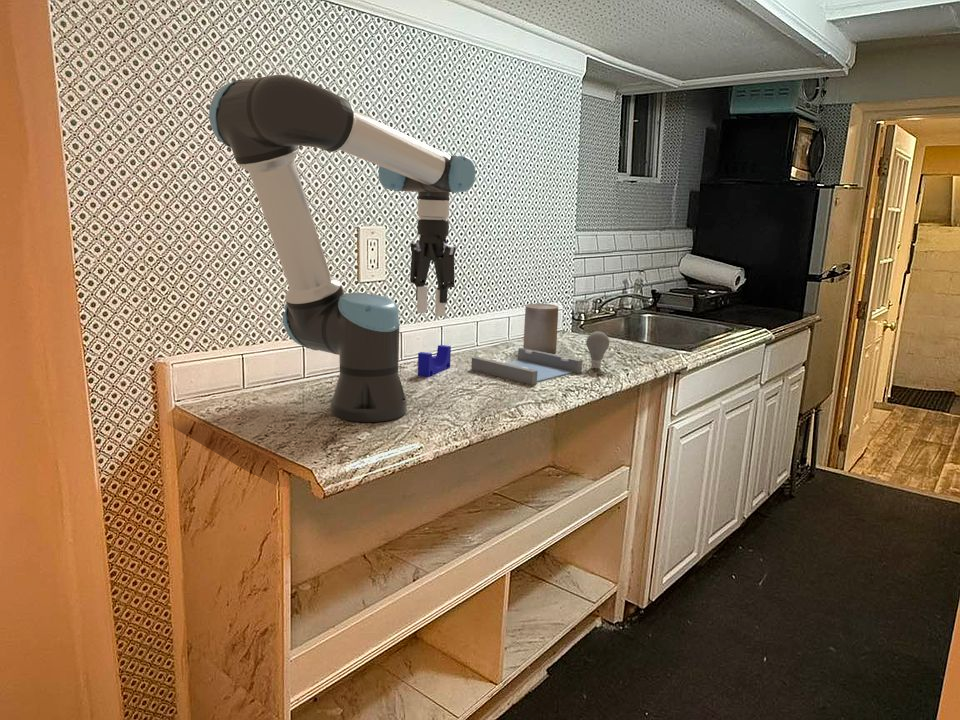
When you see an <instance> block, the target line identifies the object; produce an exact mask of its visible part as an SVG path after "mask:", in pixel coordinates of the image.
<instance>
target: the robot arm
mask: <svg viewBox="0 0 960 720" xmlns="http://www.w3.org/2000/svg"><path fill="white" fill-rule="evenodd" d="M208 111H209V112H208V116H209V124H210V128H211V130H212V131H213V132H212V133H213V134H214V135H215V137H216V138H217V140H218V141H219V142H221V143H222V144H224V145H225V146H226V147H227V148H230V149H231V151H232V154H233V157H234V159H235V162H236V165H237V166H238V167H240V168H241V169H243V170H245V171H247V172H248V174H249V177H250V179H251V182H252V185H253V188H254V190H255V193H256V196H257V199H258V203H259V205H260V207H261V210H262V213H263V216H264V219H265V223H266V225H267V227H268V230H269V234H270V236H271V239H272V242H273V245H274V248H275V251H276V254H277V256H278V259H279V263H280V264H281V267H282V270H283V273H284V276H285V279H286V282H287V285H288V290H287V292H286V293H285V295H284V299H285V302H286V303H285V305H284V308H283V309H284V312H283V314H282V323H283V327H284V330H285V332H286V333H287V335H288V337H289V338H290V339H291V340H292V341H293V342H295V343H296V344H297V345H299V346H302V347H305V348H306V349H309V350H313V351H319V352H320V351H321V352H326V353H329V354H333V355H338V356H339V357H338V358H339V376H338V379H337V381H336V382H337V383H336V386H335V389H334V392H333V396H332V398H331V401H330V413H331V415H332V416H334V417H336V418H338V419H340V420H345V421H348V422H349V421H350V422H359V423H378V422H384V421H385V422H386V421H390V420H395V419H398V418H401V417H402V416H404V415H406V414H407V412H408V411H407V410H408V408H407V407H408V402H407V398H406V395H405V392H404V388H403V385H402V382H401V378H400V375H399V353H400V325H401V324H400V323H401V321H400V317H399V316H400V315H399V307H398V304H397V303H396V302H395V301H394V300H393V299H392V298H389V297H387V296H385V295H379V294H376V293H368V292H367V293H366V292H348V293H345V292H344V289H343V286H342V282H341V281H340V279H337V278H335V277H334V276H332V275H331V272H330V269H329V266H328V262H327V260H326V257H325V254H324V251H323V248H322V244H321V242H320V238H319V235H318V232H317V228H316V225H315V222H314V219H313V216H312V213H311V209H310V206H309V203H308V201H307V197H306V194H305V190H304V187H303V185H302V181H301V179H300V178H301V177H300V174H299V171H298V169H297V165H296V163H295V158H296V156H297V154H299V153H298V152H299V151H300V147H312V148H316V149H321V150H324V151H326V152H328V153H335V152H338V151H342V152H344V153H345V154H349V155H350V156H354V157H356V158H359V159H361V160H364V161H366V162H369V163H371V164H374V165H376V166H378V179H379V180H378V181H379V182H380V185H381V186H382V187H383V188H384V189H386V190H388V191H394V192H409V193H410V192H411V193H417V199H418V200H417V216H418V217H419V219H418V220H417V231H416V232H417V234H418V235H419V239H418V241H417V242H411V243H410V253H411V257H410V258H411V260H410V275H409V281H410V283H411V284H414V286H415V287H416V288H415V298H416V303H417V305H416V314H425V313H428V292H429V291H428V284H427V280H428V279H427V278H428V274H429V270H430V266H431V263H433V264H434V271H435V276H436V280H437V281H436V282H437V287H436V288H435V309H434V310H435V311H434V317H436V318H437V317H438V318H439V317H445V316H446V304H447V303H448V291H449V289H451V288H455V254H456V250H457V246H455V245H450V244H448V241H447V236H448V235H449V230H450V228H449V227H450V222H449V220H447V219H448V218H449V217H450V193H453V194H456V193H461V192H462V193H464V192H468V191H469V190H470V189H471V188H472V187H473V186H474V183H475V181H476V180H475V179H476V167H475V164H474V161H473V160H472V159H471V158H470V157H468V156H466V155H460V154H455V155H451V154H449V153H448V152H445V151H441V150H439V149H437V148H435V147H432V146H430V145H429V144H427V143H424V142H422V141H421V140H418V139H416V138H414V137H412V136H410V135H407V134H406V133H404V132H401V131H399V130H397V129H395V128H393V127H391V126H389V125H386V124H385V123H383V122H381V121H378V120H376V119H374V118H372V117H371V116H368V115H366V114H364V113H361V112H360V111H359V110H356V109H354V107H353V104H352V103H351V102H350V101H349V100H348V99H346V98H344V97H342V96H340V95H338V94H336V93H334V92H333V91H330V90H327V89H326V88H323V87H321V86H319V85H317V84H314V83H311V82H310V81H306V80H305V79H302V78H298V77H296V76H293V75H289V74H288V75H286V74H272V75H268V76H261V77H252V78H242V79H237V80H234V81H231V82H228V83H226V84H223V85H222V86H221V87H219V88H218V90H217V91H216V92H215V94H214V95H213V97H212V100H210V105H209V110H208Z"/></svg>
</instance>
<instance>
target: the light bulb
mask: <svg viewBox="0 0 960 720" xmlns="http://www.w3.org/2000/svg"><path fill="white" fill-rule="evenodd" d="M585 343H586V347H587V350H588V351H589V355H590V360H591V362H590V363H591V365H590V367H591V368H592V369H596V370H597V369H600V368H601V367H602V360H603V358H604V355H605V353H606V352H607V350H608V348H609V346H610V339H609V337H608V335H607V334H606V333H605V332H603V331H598V330H597V331H594V332H593V331H592V332H591V333H590V334H589V335H588V336H587V338H586V342H585Z"/></svg>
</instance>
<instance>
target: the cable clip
mask: <svg viewBox="0 0 960 720" xmlns="http://www.w3.org/2000/svg"><path fill="white" fill-rule="evenodd" d="M451 348H452V346H451V345H444V344H439V345H437V350H436V351H437V352H436V355H433V353H432V352H426V351H419V352H418V353H417V376H419V377H424V378H430V377H433V376H435V375H438V374H439V373H441V372H443V371H445V370H448V369H450V368H451V360H452V359H451V355H452V354H451V353H452V349H451Z"/></svg>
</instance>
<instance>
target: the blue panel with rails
mask: <svg viewBox="0 0 960 720" xmlns="http://www.w3.org/2000/svg"><path fill="white" fill-rule="evenodd" d="M517 354H518V355H517V359H516V360H512V361H507V362H501V361H497V360H494V359H491V358H488V357H485V358H484V357H479V356H473V357H471V367H470V368H471V370H472V371H475V372H479V373H484V374H487V375H491V376H495V377H499V378H503V379H507V380H511V381H515V382H519V383H522V384H527V385H530V386H533V385H536V384H538V382H542V381H546V380H550V379H554V378H558V377H563V376H565V375H570V374H573V373H574V374H575V373H576V374H579V373H582V371H583V359H579V358H574V357H570V356H564V355H559V354H555V353H554V354H551V353H546V352H541V351H536V350H531V349H527V348H523V347H518V351H517Z"/></svg>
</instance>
